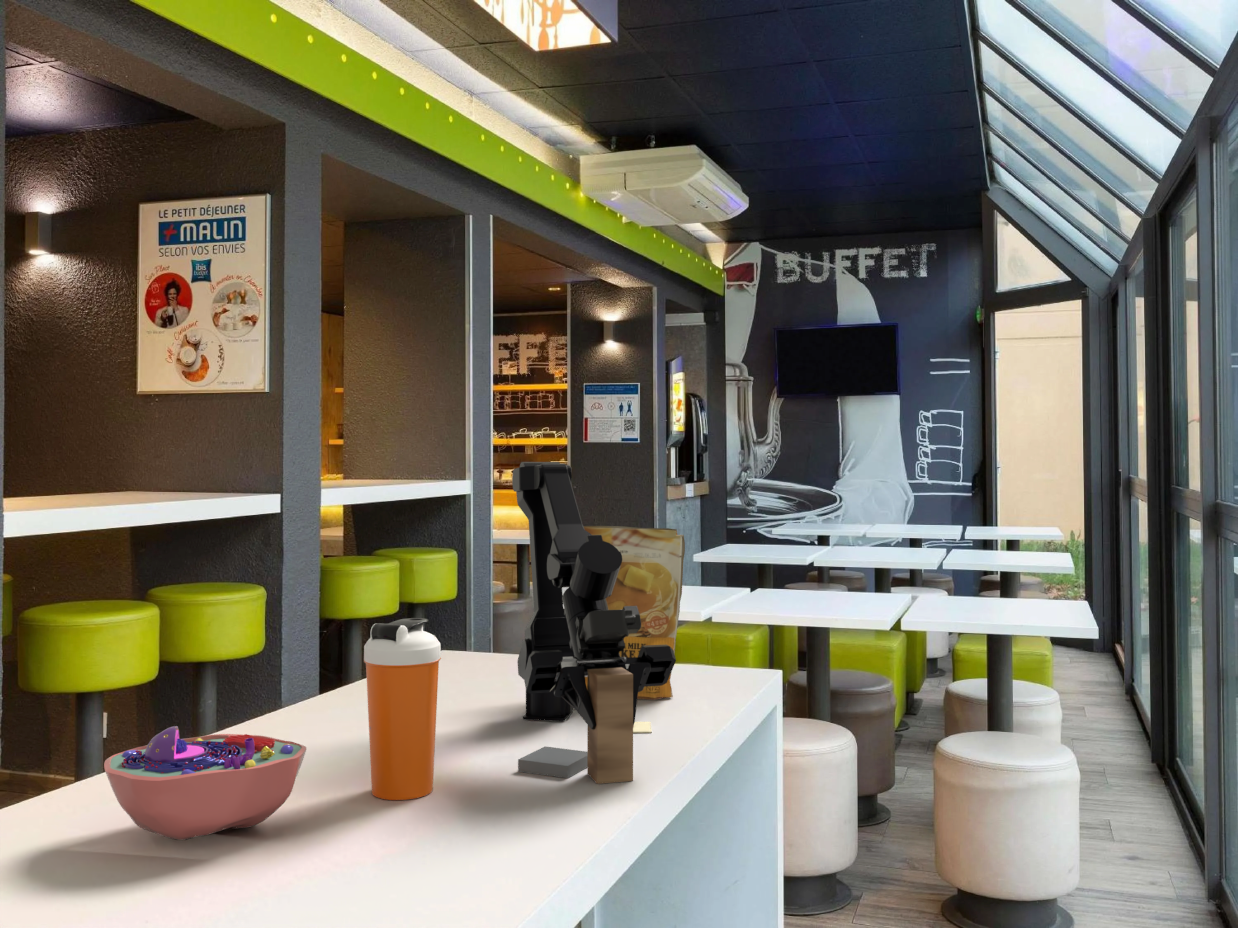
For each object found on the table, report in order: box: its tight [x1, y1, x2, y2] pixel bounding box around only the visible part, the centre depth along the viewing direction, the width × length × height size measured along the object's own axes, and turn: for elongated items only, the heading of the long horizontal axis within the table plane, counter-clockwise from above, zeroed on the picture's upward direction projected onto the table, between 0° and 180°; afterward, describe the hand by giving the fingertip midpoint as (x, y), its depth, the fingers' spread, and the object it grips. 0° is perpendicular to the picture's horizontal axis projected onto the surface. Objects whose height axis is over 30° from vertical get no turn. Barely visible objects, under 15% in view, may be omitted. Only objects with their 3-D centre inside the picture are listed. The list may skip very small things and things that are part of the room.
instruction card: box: [633, 721, 652, 734], centre depth 161 cm, size 9×6×1 cm, turn 90°
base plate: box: [517, 746, 588, 779], centre depth 140 cm, size 7×7×2 cm
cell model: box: [103, 725, 307, 841], centre depth 116 cm, size 17×20×11 cm
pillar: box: [586, 667, 634, 785], centre depth 136 cm, size 4×4×13 cm
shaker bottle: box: [363, 617, 442, 801], centre depth 130 cm, size 9×9×20 cm
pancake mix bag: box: [583, 525, 686, 701], centre depth 184 cm, size 7×19×28 cm, turn 74°
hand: (613, 726), depth 135 cm, fingers closed on pillar, 4 cm apart
